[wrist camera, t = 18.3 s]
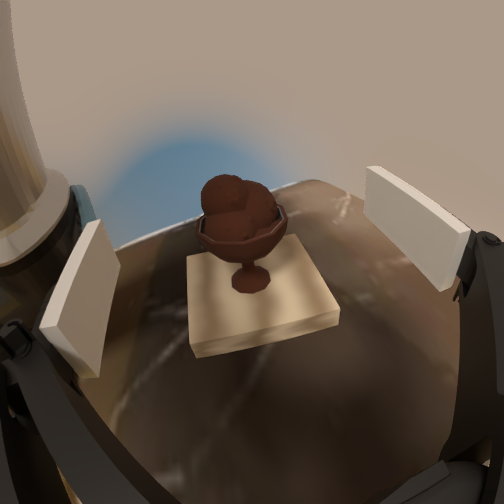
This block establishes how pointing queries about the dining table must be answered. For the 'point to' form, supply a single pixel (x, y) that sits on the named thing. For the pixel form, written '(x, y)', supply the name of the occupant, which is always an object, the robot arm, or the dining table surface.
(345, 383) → the dining table surface
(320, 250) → the dining table surface
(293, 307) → the maple stand board
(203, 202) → the ice cream bowl
